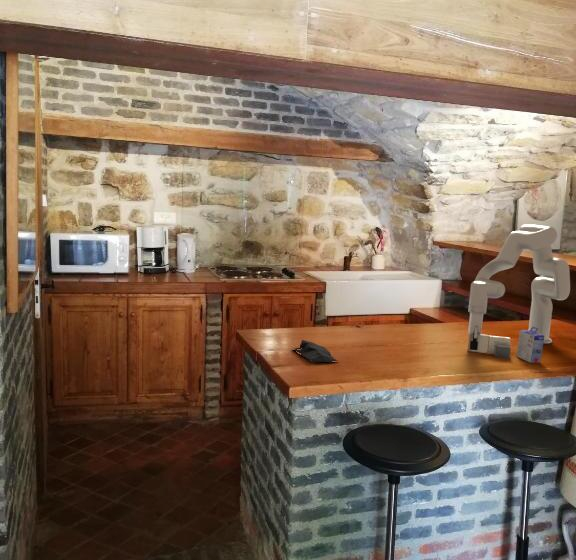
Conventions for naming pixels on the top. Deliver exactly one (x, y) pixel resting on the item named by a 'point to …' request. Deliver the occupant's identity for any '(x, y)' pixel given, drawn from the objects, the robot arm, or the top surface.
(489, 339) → the ticket holder
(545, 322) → the robot arm
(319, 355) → the dark fabric pouch
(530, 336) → the ink cartridge box
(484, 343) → the grey flat block
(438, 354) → the top surface
